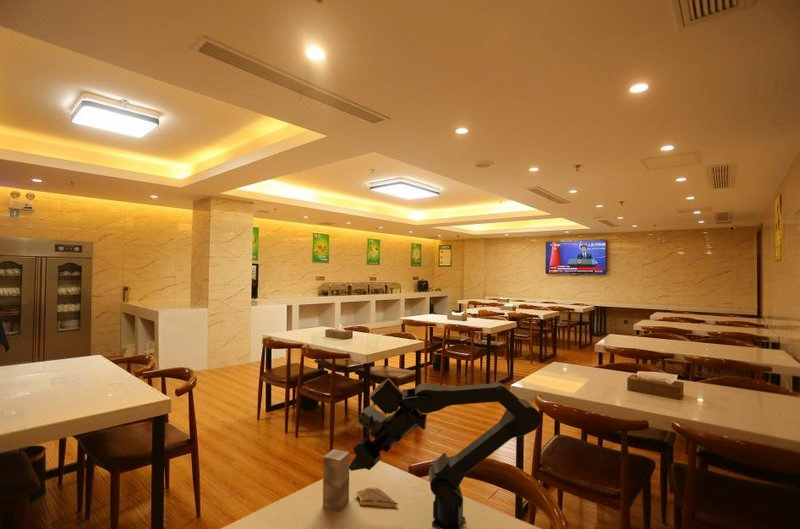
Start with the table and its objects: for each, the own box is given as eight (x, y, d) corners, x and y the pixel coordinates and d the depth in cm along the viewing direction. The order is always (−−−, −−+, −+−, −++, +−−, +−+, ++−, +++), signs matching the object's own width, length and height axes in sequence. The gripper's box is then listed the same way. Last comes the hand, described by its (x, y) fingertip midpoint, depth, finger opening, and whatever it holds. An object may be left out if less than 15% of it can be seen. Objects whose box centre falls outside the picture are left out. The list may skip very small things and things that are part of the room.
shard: (397, 509, 103) (397, 502, 103) (373, 519, 98) (373, 512, 98) (375, 490, 112) (375, 484, 112) (352, 499, 107) (352, 493, 107)
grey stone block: (348, 501, 105) (349, 452, 106) (339, 511, 101) (339, 460, 101) (332, 496, 107) (333, 449, 108) (322, 506, 103) (323, 456, 103)
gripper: (392, 389, 109) (356, 423, 113) (361, 410, 92) (320, 449, 95) (418, 421, 106) (381, 455, 110) (391, 450, 89) (348, 489, 92)
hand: (358, 460), depth 102 cm, fingers open, 9 cm apart
